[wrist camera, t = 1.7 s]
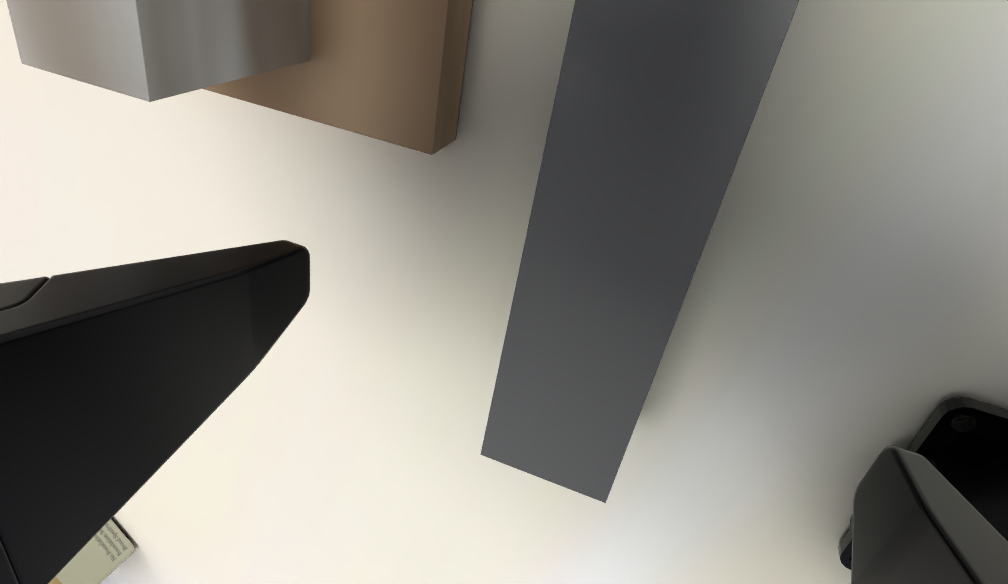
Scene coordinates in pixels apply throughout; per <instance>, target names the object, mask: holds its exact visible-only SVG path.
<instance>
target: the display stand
mask: <svg viewBox="0 0 1008 584" xmlns="http://www.w3.org/2000/svg"><path fill="white" fill-rule="evenodd" d="M7 4H8V9H9V13H10V17H11V21H12V25H13V29H14V33H15V38H16V42H17V46H18V50H19V54H20V58H21V62H22V64H25V65H29V66H32V67H35V68H39V69H42V70H45V71H49V72H52V73H55V74H59V75H62V76H65V77H69V78H72V79H75V80H79V81H82V82H85V83H89V84H92V85H95V86H99V87H102V88H105V89H109V90H112V91H115V92H119V93H122V94H125V95H129V96H132V97H135V98H139V99H142V100H145V101H149V102H151V101H155V100H159V99H163V98H166V97H170V96H174V95H178V94H182V93H186V92H190V91H194V90H198V89H206V90H209V91H213V92H216V93H219V94H223V95H226V96H230V97H233V98H237V99H240V100H244V101H247V102H251V103H254V104H258V105H261V106H265V107H268V108H272V109H275V110H278V111H282V112H285V113H289V114H292V115H296V116H299V117H303V118H306V119H310V120H313V121H317V122H320V123H324V124H327V125H331V126H334V127H337V128H341V129H344V130H348V131H351V132H355V133H358V134H362V135H365V136H369V137H372V138H376V139H379V140H383V141H386V142H390V143H393V144H397V145H400V146H403V147H407V148H410V149H414V150H417V151H421V152H424V153H428V154H431V155H433V154H434V153H436V152H437V151H439V150H440V149H442V148H443V147H445V146H446V145H448V144H449V143H451V142H452V141H454V140H456V132H457V124H458V116H459V108H460V100H461V92H462V84H463V76H464V68H465V60H466V52H467V44H468V36H469V28H470V20H471V12H472V4H473V0H7Z"/></svg>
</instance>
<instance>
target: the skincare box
mask: <svg viewBox="0 0 1008 584" xmlns="http://www.w3.org/2000/svg"><path fill="white" fill-rule="evenodd" d="M134 550H135V548H134V546H133V544H132V543H131V542H130V540H129V539H127V538H126V536H125V535H124V534H123V533H122V532H121V531H120V529H119V528H118V527H117V526H116V524H115V523H114V522H113V521H112V520H111V519H110V520H109V521H108V522H107V523H106V525H105V526H104V527H103V528H102V529H101V530H100V531H99V532H98V533H97V534H96V535H95V536H94V537H93V538H92V539H91V540H90V541H89V542H88V543H87V544H86V545H85V546H84V547H83V548H82V549H81V551H80V552H79V553H78V554H77V555H76V556H75V557H74V558H73V559H72V560H71V561H70V562H69V563H68V564H67V565H66V566H65V567H64V568H63V569H62V570H61V571H60V572H59V573H58V574H57V575H56V577H55V578H54V579H53V580H52V581H51V582H50V583H49V584H100V583H101V582H102V581H103V580H104V579H105V578H106V577H107V576H108V575H110V574H111V573H112V572H113V571H114V570H115V569H116V568H117V567H118V566H119V565H120V564H121V563H122V562H123V561H124V560H125V559H126V558H128V557H129V556H130V555H131V554H132V553H133V552H134Z"/></svg>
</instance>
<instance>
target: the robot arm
mask: <svg viewBox="0 0 1008 584" xmlns="http://www.w3.org/2000/svg"><path fill="white" fill-rule="evenodd" d="M309 293H310V254H309V251H308V250H307V248H306V247H304V246H301V245H299V244H296V243H293V242H290V241H286V240H280V241H274V242H267V243H261V244H254V245H248V246H241V247H235V248H228V249H222V250H216V251H209V252H203V253H196V254H190V255H183V256H177V257H170V258H164V259H157V260H151V261H144V262H138V263H132V264H125V265H119V266H112V267H106V268H99V269H93V270H86V271H80V272H73V273H67V274H60V275H54V276H52V277H51V278H50V279H49V278H48V277H40V278H34V279H27V280H21V281H14V282H7V283H0V584H49V583H50V582H51V581H52V580H53V579H54V578H55V577H56V575H57V574H58V573H59V572H60V571H61V570H62V569H63V568H64V567H65V566H66V565H67V564H68V563H69V562H70V561H71V560H72V559H73V558H74V557H75V556H76V555H77V554H78V553H79V552H80V551H81V549H82V548H83V547H84V546H85V545H86V544H87V543H88V542H89V541H90V540H91V539H92V538H93V537H94V536H95V535H96V534H97V533H98V532H99V531H100V530H101V529H102V528H103V527H104V526H105V525H106V523H107V522H108V521H109V520H110V519H111V518H112V517H113V516H114V515H115V514H116V513H117V512H118V511H119V510H120V509H121V508H122V507H123V506H124V505H125V504H126V503H127V502H128V501H129V500H130V498H131V497H132V496H133V495H134V494H135V493H136V492H137V491H138V490H139V489H140V488H141V487H142V486H143V485H144V484H145V483H146V482H147V481H148V480H149V479H150V478H151V477H152V476H153V475H154V474H155V472H156V471H157V470H158V469H159V468H160V467H161V466H162V465H163V464H164V463H165V462H166V461H167V460H168V459H169V458H170V457H171V456H172V455H173V454H174V453H175V452H176V451H177V450H178V449H179V448H180V446H181V445H182V444H183V443H184V442H185V441H186V440H187V439H188V438H189V437H190V436H191V435H192V434H193V433H194V432H195V431H196V430H197V429H198V428H199V427H200V426H201V425H202V424H203V423H204V421H205V420H206V419H207V418H208V417H209V416H210V415H211V414H212V413H213V412H214V411H215V410H216V409H217V408H218V407H219V406H220V405H221V404H222V403H223V402H224V401H225V400H226V399H227V398H228V397H229V395H230V394H231V393H232V392H233V391H234V390H235V389H236V388H237V387H238V386H239V385H240V384H241V383H242V382H243V381H244V380H245V379H246V378H247V377H248V375H249V374H250V373H251V372H252V371H253V370H254V369H255V368H256V366H257V365H258V364H259V363H260V362H261V360H262V359H263V358H264V357H265V355H266V354H267V353H268V351H269V350H270V349H271V348H272V346H273V345H274V344H275V342H276V341H277V340H278V338H279V337H280V336H281V335H282V333H283V332H284V331H285V329H286V328H287V327H288V326H289V324H290V323H291V322H292V320H293V319H294V318H295V316H296V315H297V314H298V313H299V311H300V310H301V309H302V307H303V306H304V305H305V303H306V301H307V299H308V297H309ZM961 415H967V416H971V417H970V418H969V419H967V420H966V421H961V422H957V421H953V419H954V418H956V417H957V416H961ZM850 522H851V528H850V529H849V531H848V532H847V533H846V535H845V536H844V537H843V539H842V540H841V542H840V544H839V546H838V548H839V555H840V560H841V563H842V564H843V565H844V566H845V567H846V568H848V569H850V570H852V573H851V584H1008V410H1005V409H1002V408H999V407H996V406H992V405H989V404H986V403H983V402H980V401H977V400H973V399H970V398H964V397H957V398H951V399H948V400H946V401H944V402H942V403H941V404H940V405H939V406H938V407H937V408H936V410H935V411H934V413H933V414H932V415H931V417H930V418H929V420H928V421H927V422H926V424H925V425H924V426H923V428H922V429H921V431H920V432H919V433H918V435H917V436H916V438H915V439H914V440H913V442H912V443H911V444H910V446H909V447H908V449H907V450H905V449H902V448H899V447H896V446H890V447H886V448H885V449H884V450H883V451H882V452H881V453H880V455H879V456H878V457H877V459H876V460H875V462H874V463H873V465H872V466H871V468H870V469H869V471H868V472H867V473H866V475H865V476H864V478H863V479H862V481H861V482H860V484H859V485H858V487H857V490H856V493H855V496H854V507H853V515H852V516H851V519H850Z"/></svg>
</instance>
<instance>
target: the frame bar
mask: <svg viewBox="0 0 1008 584" xmlns="http://www.w3.org/2000/svg"><path fill="white" fill-rule="evenodd" d="M798 2H799V0H575V5H574V10H573V14H572V19H571V24H570V29H569V34H568V38H567V43H566V48H565V53H564V58H563V62H562V67H561V72H560V77H559V82H558V86H557V91H556V96H555V101H554V106H553V110H552V115H551V120H550V125H549V129H548V134H547V139H546V144H545V149H544V153H543V158H542V163H541V168H540V173H539V177H538V182H537V187H536V192H535V197H534V201H533V206H532V211H531V216H530V221H529V225H528V230H527V235H526V240H525V245H524V249H523V254H522V259H521V264H520V268H519V273H518V278H517V283H516V288H515V292H514V297H513V302H512V307H511V312H510V316H509V321H508V326H507V331H506V336H505V340H504V345H503V350H502V355H501V360H500V364H499V369H498V374H497V379H496V384H495V388H494V393H493V398H492V403H491V408H490V412H489V417H488V422H487V427H486V431H485V436H484V441H483V446H482V451H481V455H483V456H486V457H488V458H491V459H493V460H496V461H499V462H501V463H504V464H506V465H509V466H512V467H514V468H517V469H519V470H522V471H524V472H527V473H530V474H532V475H535V476H537V477H540V478H542V479H545V480H548V481H550V482H553V483H555V484H558V485H561V486H563V487H566V488H568V489H571V490H573V491H576V492H579V493H581V494H584V495H586V496H589V497H591V498H594V499H597V500H599V501H602V502H604V503H606V500H607V498H608V495H609V493H610V490H611V487H612V485H613V482H614V480H615V477H616V474H617V472H618V469H619V467H620V464H621V461H622V459H623V456H624V454H625V451H626V448H627V446H628V443H629V441H630V438H631V435H632V433H633V430H634V428H635V425H636V422H637V420H638V417H639V415H640V412H641V409H642V407H643V404H644V402H645V399H646V396H647V394H648V391H649V389H650V386H651V383H652V381H653V378H654V376H655V373H656V370H657V368H658V365H659V363H660V360H661V357H662V355H663V352H664V350H665V347H666V344H667V342H668V339H669V337H670V334H671V331H672V329H673V326H674V324H675V321H676V319H677V316H678V313H679V311H680V308H681V306H682V303H683V300H684V298H685V295H686V293H687V290H688V287H689V285H690V282H691V280H692V277H693V274H694V272H695V269H696V267H697V264H698V261H699V259H700V256H701V254H702V251H703V248H704V246H705V243H706V241H707V238H708V235H709V233H710V230H711V228H712V225H713V222H714V220H715V217H716V215H717V212H718V209H719V207H720V204H721V202H722V199H723V196H724V194H725V191H726V189H727V186H728V183H729V181H730V178H731V176H732V173H733V170H734V168H735V165H736V163H737V160H738V158H739V155H740V152H741V150H742V147H743V145H744V142H745V139H746V137H747V134H748V132H749V129H750V126H751V124H752V121H753V119H754V116H755V113H756V111H757V108H758V106H759V103H760V100H761V98H762V95H763V93H764V90H765V87H766V85H767V82H768V80H769V77H770V74H771V72H772V69H773V67H774V64H775V61H776V59H777V56H778V54H779V51H780V48H781V46H782V43H783V41H784V38H785V35H786V33H787V30H788V28H789V25H790V22H791V20H792V17H793V15H794V12H795V9H796V7H797V4H798Z"/></svg>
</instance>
